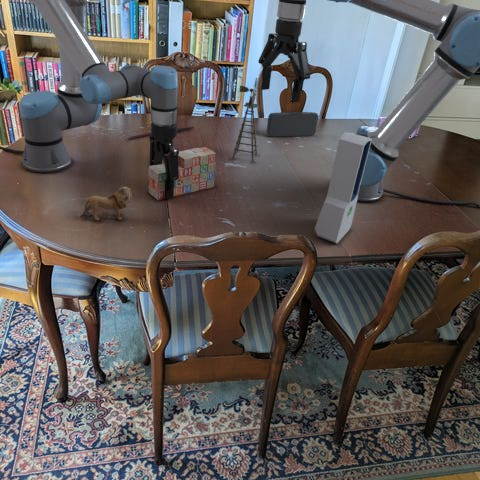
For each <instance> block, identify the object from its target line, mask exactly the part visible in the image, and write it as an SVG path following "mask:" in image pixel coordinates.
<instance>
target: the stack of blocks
mask: <svg viewBox="0 0 480 480" xmlns="http://www.w3.org/2000/svg"><path fill="white" fill-rule="evenodd" d="M216 166H217V153H216V152H215V151H213V150H212V149H210V148H208V147H207V146H203V147H194V148H190V149H185V150H181V151H180V150H179V155H178V169H179V179H178V180H174V197H178V196H182V195H185V194H186V195H187V194H190V193H194V192H198V191H203V190H206V189H207V190H208V189H211V188H214V187H215V176H216ZM165 179H167V177H166V171H165V165H164V162H162V164H158V165H154V166H150V165H149V166H148V180H147V181H148V194H150V195H151V196H152V197H153V198H155V199H156V200H157V201H161V200H166V199H165Z"/></svg>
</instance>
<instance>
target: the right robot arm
mask: <svg viewBox="0 0 480 480" xmlns="http://www.w3.org/2000/svg"><path fill="white" fill-rule="evenodd" d="M328 1H329V2H335V3H337V4H338V3H350V4H352V5H354V6H357V7H360V8H362V9H366V10H368V11H371V12H372V13H376V14H378V15H380V16H381V15H382V16H384V17H386V18H389V19H391V20H394V21H397V22H399V23H402V24H405V25H408V26H410V27H413V28H415V29H418V30H420V31H423V32H426V33H428V34H431V35H432V36H433V39H434V40H436V41H438V42H441V43H439V45H438V46H437V47H436V49H435V50H434V52H433V54H434V60H433V61H432V62H431V63H430V65H429V66H428V67H427V68H426V69H425V71H424V72H423V73H422V75H421V76H420V77H419V78H418V79H417V81H415V83H414V84H413V85H412V87H410V89H409V90H408V91H407V93H406V94H405V95H404V96H403V97H402V98H401V100H400V101H399V102H398V104H397V105H396V106H395V107H394V108H393V109H392V111H391V112H390V113H389V114H388V115H387V116H386V117H387V118H386V119H385V120H384V122H383V123H382V124H381V125H380V126H379V128H377V127H376V126H371V125H369V126H368V125H362V126H359V127H358V128H357V130H356V132H355V134H357V135H360V136H364V137H368V138H371V139H372V141H371V145H370V149H369V153H368V157H367V161H366V165H365V169H364V172H363V176H362V180H361V184H360V188H359V192H358V199H357V202H360V203H377V202H378V201H380V200H381V199H382V198H383V195H384V193H385V194H390V195H394V196H398V197H401V198H405V199H410V200H414V201H418V202H424V203H432V204H440V205H441V204H442V205H460V206H468V205H469V206H471V205H472V206H476V207H477V208H478V209H480V204H479V202H475V201H457V200H456V201H455V200H451V201H450V200H436V199H429V198H423V197H418V196H413V195H408V194H404V193H401V192H397V191H393V190H389V189H385V188H384V182H383V180H384V177H385V176H386V174H387V170H389V168H390V167H391V166H392V164H393V163H395V162H396V160H397V159H398V158H399V157H400V148H401V147H402V146H403V145H404V143H406V141H407V140H408V139H410V138H409V137H410V135H411V134H412V133H413V132H414V131H415V130H416V129H417V128H418V127H419V125H420V124H422V123H424V122H425V120H426V119H427V118H428V117H429V116H430V114H431V113H432V112H433V111H434V110H435V109H436V107H438V105H439V104H441V102H442V101H443V100H444V99H445V98H446V96H448V94H449V93H450V92H451V91H452V90H453V88H454V87H456V85H457V84H458V83H459V82H460V81H463V80H468V79H470V78H471V77H473V75H474V74H475V73H476V71H478V70H479V68H480V9H474V8H469V7H465V6H461V5H458V4H455V3H449V4H448V5H445V4H443V3H440V2H437V1H434V0H328ZM306 4H307V0H278V4H277V11H276V12H277V13H276V17H277V19H276V21H275V29H274V32H271V33H269V34H268V37H267V41H266V43H265V45H264V47H263V49H262V52H261V54H260V56H259V58H258V64H259V65H261V67H262V71H261V79H262V80H261V89H260V90H262V91H265V90H270V86H271V79H272V78H271V77H272V71H273V70H272V69H273V67H272V64H273V63H274V62H275V61H276V60H277V58H278V57H279V56H280V55H281V54H282V55H284V56H286V57H287V58H288V59H289V61H290V64H291V66H292V67H291V68H292V69H293V73H294V76H295V78H294V79H293V84H292V90H291V96H290V103H299V102H300V100H301V99H300V98H301V92H302V91H303V87H304V84H305V83H304V82H305V81H306V80H309V79H311V72H310V65H309V59H308V53H307V50H308V49H307V48H308V43H307V42H306V41H300V39H299V38H300V36H301V35H302V31H303V27H304V26H303V25H304V22H303V21H302V20H304V16H305V12H306ZM420 126H421V125H420Z"/></svg>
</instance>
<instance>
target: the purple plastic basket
mask: <svg viewBox="0 0 480 480" xmlns="http://www.w3.org/2000/svg"><path fill="white" fill-rule="evenodd" d="M387 117H388V116H378V118H377V123H376V126H375V127H377V128H379V126H380V125H381V124H382V123H383V122H384V120H385V119H386V118H387ZM421 124H422V123H421ZM421 124H420V125H419V127H418V128H417V129H416V130H415V131H414V132H413V133H412V134H411V135H410V136H411V137H409V138H408V139H413V137H418V135H416V134H419V131H420V128H421V126H422V125H421Z"/></svg>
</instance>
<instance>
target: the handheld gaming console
mask: <svg viewBox="0 0 480 480" xmlns="http://www.w3.org/2000/svg"><path fill="white" fill-rule="evenodd" d="M318 120H319V114H318V113H317V112H315V111H313V112H312V111H309V112H308V111H284V112H283V111H282V112H271V113H269V115H268V117H267V126H266V134H267V136H268V137H303V136H304V137H307V136H310V137H311V136H314V135H316V134H317V133H316V132H317V125H318Z"/></svg>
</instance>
